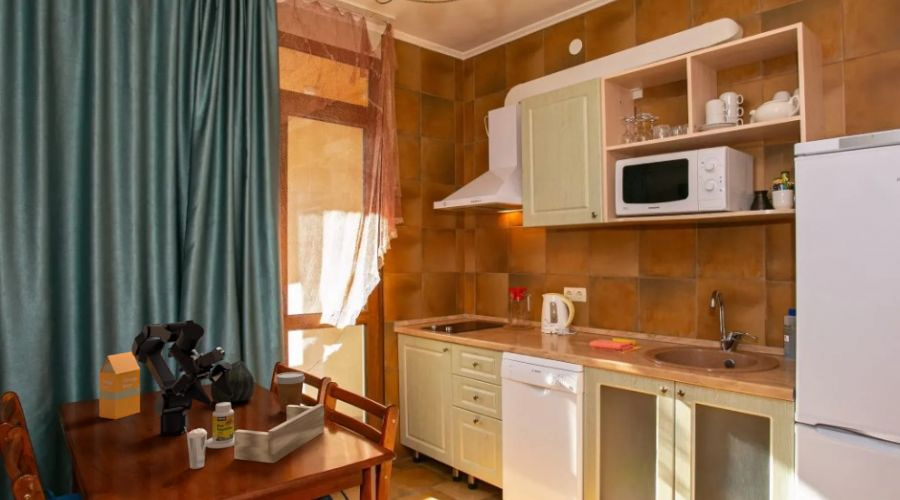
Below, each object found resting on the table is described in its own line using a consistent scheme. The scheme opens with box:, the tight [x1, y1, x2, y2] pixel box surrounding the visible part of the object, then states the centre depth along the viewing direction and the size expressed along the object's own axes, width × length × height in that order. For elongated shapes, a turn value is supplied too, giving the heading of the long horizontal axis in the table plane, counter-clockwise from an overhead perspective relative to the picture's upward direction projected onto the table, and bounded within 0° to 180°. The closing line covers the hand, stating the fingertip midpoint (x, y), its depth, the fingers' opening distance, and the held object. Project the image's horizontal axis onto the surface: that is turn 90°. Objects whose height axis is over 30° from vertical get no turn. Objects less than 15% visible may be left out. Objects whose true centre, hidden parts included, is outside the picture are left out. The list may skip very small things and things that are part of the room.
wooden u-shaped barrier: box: [233, 403, 325, 464], centre depth 152 cm, size 12×26×8 cm, turn 164°
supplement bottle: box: [211, 402, 235, 443], centre depth 154 cm, size 6×6×10 cm
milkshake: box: [184, 427, 208, 470], centre depth 136 cm, size 4×5×10 cm
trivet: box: [205, 437, 234, 449], centre depth 154 cm, size 10×10×1 cm
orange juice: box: [98, 350, 141, 420], centre depth 181 cm, size 8×9×20 cm
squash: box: [210, 360, 256, 404], centre depth 196 cm, size 14×15×15 cm
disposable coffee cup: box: [275, 371, 306, 414], centre depth 184 cm, size 10×10×12 cm
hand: (221, 399), depth 154 cm, fingers open, 9 cm apart
